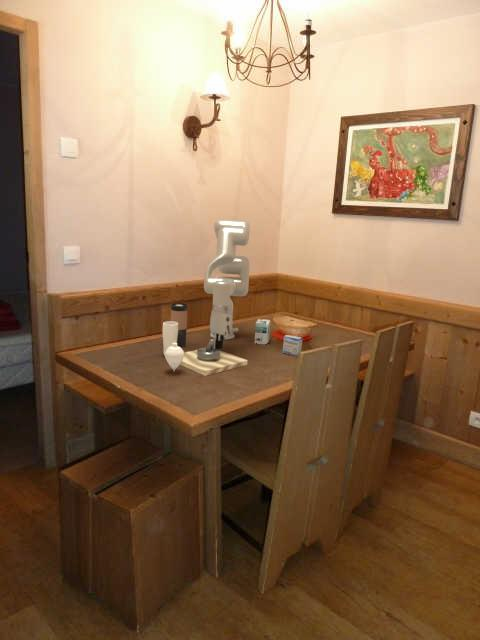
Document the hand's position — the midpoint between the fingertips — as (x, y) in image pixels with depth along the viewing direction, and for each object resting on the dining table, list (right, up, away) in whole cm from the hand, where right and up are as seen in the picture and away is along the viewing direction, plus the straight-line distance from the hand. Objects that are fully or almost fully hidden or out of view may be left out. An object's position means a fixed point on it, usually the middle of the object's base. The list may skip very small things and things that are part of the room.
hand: (218, 348), depth 210 cm
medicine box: (+34, -4, +11) cm, 36 cm away
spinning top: (-17, -8, -23) cm, 30 cm away
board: (-4, -6, -9) cm, 11 cm away
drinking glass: (-22, -3, -3) cm, 22 cm away
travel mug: (-20, 0, +14) cm, 24 cm away
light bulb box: (+21, +1, +29) cm, 36 cm away
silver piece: (-4, -2, -5) cm, 7 cm away
